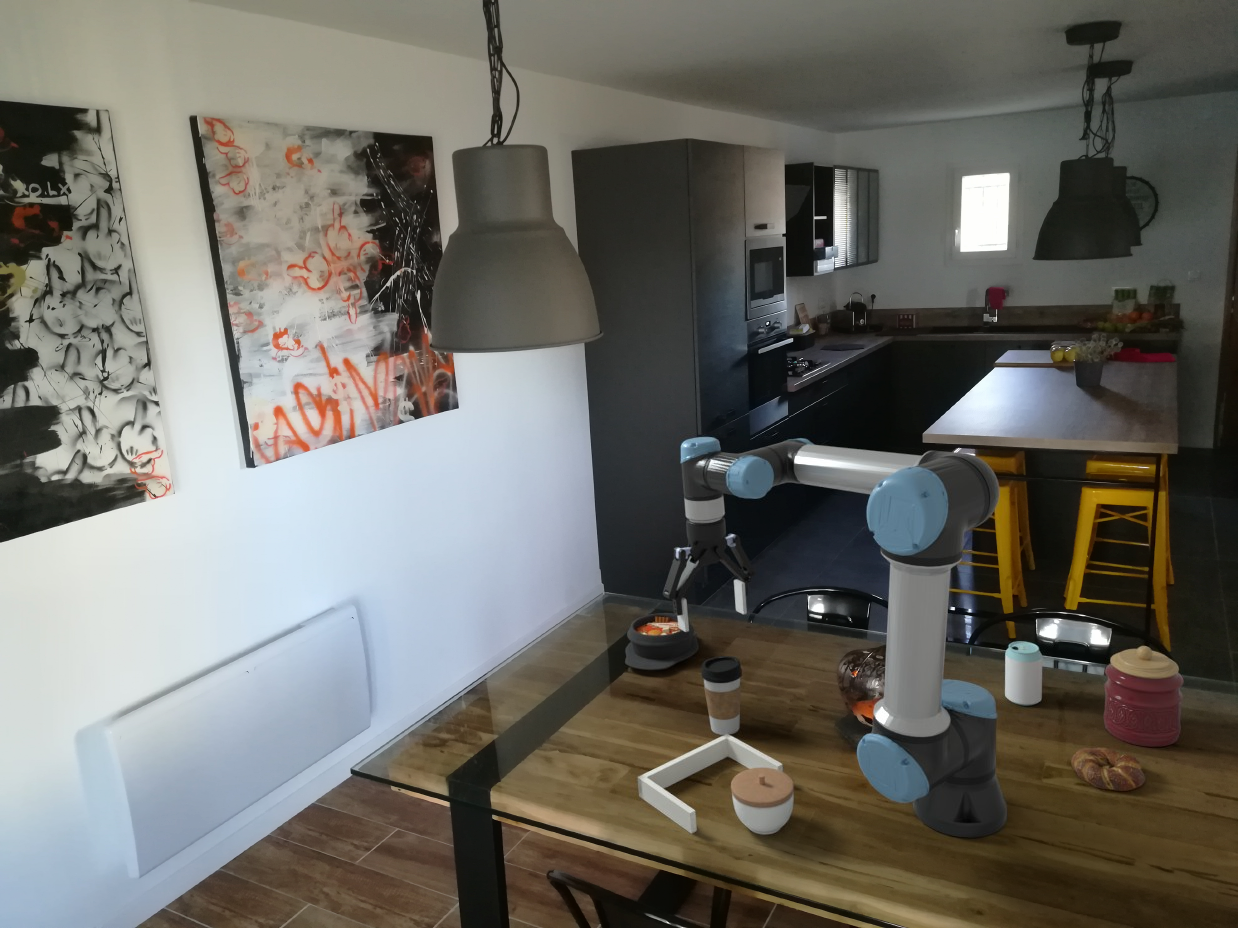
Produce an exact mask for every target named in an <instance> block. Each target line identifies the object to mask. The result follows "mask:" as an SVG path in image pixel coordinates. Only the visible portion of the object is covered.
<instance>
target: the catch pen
mask: <svg viewBox="0 0 1238 928" xmlns="http://www.w3.org/2000/svg"><path fill="white" fill-rule="evenodd" d="M726 758H729V759H732V760H734V761H735V762H737V763H738V764H741V765H742V766H743V767H745V768H747V769H752V768H772V769H776V770H779V771H782V772H783V773H784V771H783V770H784V767H783V763H781V762H780V761H778V760H776V759H775V758H773V757H770V756H769V755H767V754H765V753H763V752H761V751H759V750H758V749H756V748H754V747H752V746H750V745H749V744H747V743H745V742H743V741H741V740H740V739H738V738H736V737H734V736H733V735H732V734H730V735H729V734H726V735H720V737H718V738H715V739H713V740H711V741H709V742H707V743H705V744H703V745H701V746H699V747H697V748H695V749H693V750H691V751H688V752H686V753H685V754H682V755H681V756H678V757H676V758H674V759H671V760H669V761H667V762H666V763H664V764H662V765H660V766H658V767H656V768H654V769H652V770H650V771H647V772H645V773H643V774H641V775H638V776H637V785H638V787H637V788H638V796H639V798H640V799H642V800H643V801H645V802H646V803H648V804H649V805H650V806H652V807H653V808H655V809H656V810H658V811H659V812H661V813H662V814H664V815H665V816H666V817H668V818H669V819H670V820H671V821H672V822H674V823H675V824H677V825H679V826H680V827H681V828H683V830H685V831H687V832H688V833H690V834H691V835H692V834H695V832H697V830H698V829H697V818H696V817H697V816H696V810H695V809H694V808H693V807H691V806H689V804H686V803H685V802H684V801H682V800H680V799H679V798H677V797H676V796H675V795H673V794H671V792H669V791H668V790H666V788H668V787H670V786H672V785H673V784H676V783H677V782H680V781H682V780H684V779H686V778H688V777H690V776H692V775H693V774H696V773H698V772H700V771H702V770H703V769H706V768H707V767H710V766H711V765H714V764H715V763H718V762H720V761H721V760H724V759H726Z"/></svg>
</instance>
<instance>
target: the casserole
mask: <svg viewBox="0 0 1238 928" xmlns="http://www.w3.org/2000/svg"><path fill="white" fill-rule="evenodd" d="M688 625H689V631H687V632H685V631H683V630H681V629H680V628H678V616H677V615H676V614H674V613H671V612H669V613H668V612H664V613H663V612H662V613H661V612H660V613H659V612H658V613H651V614H646V615H643V616H641V617H639V618H636V619H635V620H633V621H632V622H631V624H630V627H629V630H628V631H627V634H626V637H627V638H628V640H629V641H630V642H629V643H628V644H627V646H626V647H625V651H624V652H625V656H626V657H625V660H624V663H625V665H626V666H628V667H630V668H633V669H638V670H643V671H644V670H645V671H661V670H667V669H669V668H671V667H673V666H675V665H676V664H677V663H679V662H683V661H685V660H686V659H690V658H691V657H693V656H694V655H695V654H696V653H697V652H698V650H699V648H700V645H699V643H698V639H697V637H698V634H697V633H696V632H695V628H694V626H693V625H692V624H691V622H690V620H689V619H688Z"/></svg>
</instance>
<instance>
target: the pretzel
mask: <svg viewBox="0 0 1238 928" xmlns="http://www.w3.org/2000/svg"><path fill="white" fill-rule="evenodd" d="M1070 763H1071V767H1072V769H1073V770H1074V771H1075V773H1077V775H1076V776H1078V777H1079V778H1080V779H1081V780H1082V781H1084V782H1086V783H1089V784H1091V786H1093V787H1095V788H1097V789H1100V790H1101V789H1102V790H1113V791H1115V792H1125V791H1130V790H1133V789H1138V788H1140V787H1141V786H1143V784H1144V783H1145V782H1146V777H1145V773H1144V772H1143V771H1142V765H1141V763H1140V761H1139V760H1138V759H1137V758H1136V757H1135V756H1132V755H1129V754H1122V755H1120V754H1119V752H1117V751H1115V750H1113V749H1111V748H1107V747H1095V748H1093V747H1087V748H1086V747H1083V748H1081V749H1079V750H1076V752H1075V753H1074V754H1073V755H1072V757H1071V762H1070Z"/></svg>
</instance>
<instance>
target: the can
mask: <svg viewBox="0 0 1238 928" xmlns="http://www.w3.org/2000/svg"><path fill="white" fill-rule="evenodd" d="M1004 658H1005V660H1004V661H1005V662H1004V665H1005V666H1004V667H1005V668H1004V669H1005V670H1004V676H1005V677H1004V679H1005V680H1004V695H1005V698H1007V700H1009V701H1010V702H1012V703H1013V704H1015V705H1019V706H1024V707H1025V706H1026V707H1027V706H1034V705H1036V704H1038V703H1039V702H1041V701H1042V697H1043V696H1042V695H1043V693H1042V689H1043V688H1042V687H1043V685H1042V683H1043V654H1042V653H1041V651H1040V647H1039V646H1038V645H1037V644H1035V643H1032V642H1030V641H1029V642H1028V641H1021V640H1020V641H1013V642H1011V643H1009V644H1008V648H1007V649H1006V650H1005V656H1004Z"/></svg>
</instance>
